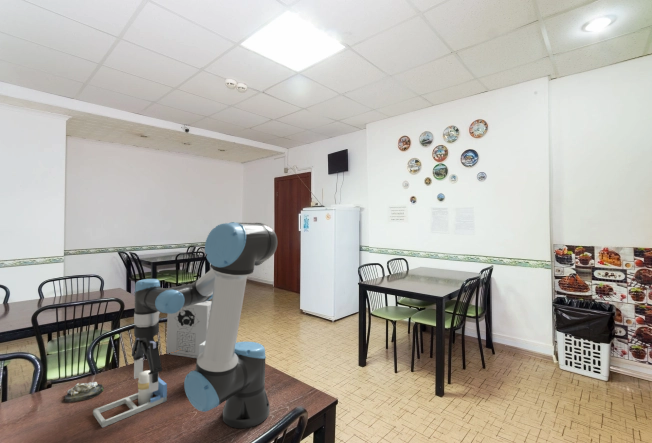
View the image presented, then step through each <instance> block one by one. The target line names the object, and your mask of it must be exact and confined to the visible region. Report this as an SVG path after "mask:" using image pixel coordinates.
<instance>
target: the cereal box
mask: <svg viewBox="0 0 652 443" xmlns="http://www.w3.org/2000/svg"><path fill="white" fill-rule="evenodd" d="M211 303H212V300H208V301H206V302H202V303H197V304H193V305H189V306H186V307H182V308H181V309H180V310H179V311H178V312H176V313H173V314H169V313H167V316H166V317H167V319H166V320H167V321H166V322H167V325H166V327H167V328H166V330H167V331H166V333H167V334H166V335H167V336H166V355H172V356H178V357H179V356H180V357H185V358H193V359H197V358H198V356H199V345H200V344H202V343H203V342H204V341H206V335H207V328H208V322H209V316H210V309H211ZM180 349H181V350H180ZM177 350H179V351H177ZM175 351H177V352H175ZM171 352H174V353H171ZM169 353H170V354H169Z"/></svg>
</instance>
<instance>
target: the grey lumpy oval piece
mask: <svg viewBox="0 0 652 443" xmlns="http://www.w3.org/2000/svg"><path fill="white" fill-rule="evenodd" d="M104 388H105V387H104V385H103V384H102V383H98V382H97V381H90V382H88V383H87V382H85V383H84V382H83V383H79V382H78V383H76V384H75V385H74V386H73V387H71V388H69V389H68V390H67V391H66V392H67V393H66V395H65V396H64V403H73V402H81V401H86V400H90V399H93V398H96V397H97V396H99V395H101V394H102V393H103V392H104Z"/></svg>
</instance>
